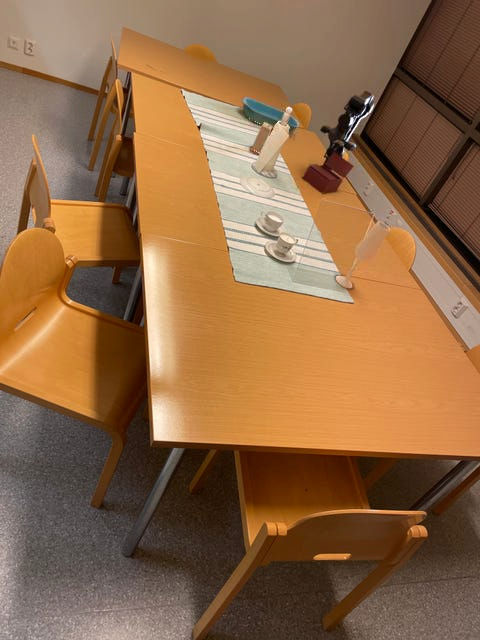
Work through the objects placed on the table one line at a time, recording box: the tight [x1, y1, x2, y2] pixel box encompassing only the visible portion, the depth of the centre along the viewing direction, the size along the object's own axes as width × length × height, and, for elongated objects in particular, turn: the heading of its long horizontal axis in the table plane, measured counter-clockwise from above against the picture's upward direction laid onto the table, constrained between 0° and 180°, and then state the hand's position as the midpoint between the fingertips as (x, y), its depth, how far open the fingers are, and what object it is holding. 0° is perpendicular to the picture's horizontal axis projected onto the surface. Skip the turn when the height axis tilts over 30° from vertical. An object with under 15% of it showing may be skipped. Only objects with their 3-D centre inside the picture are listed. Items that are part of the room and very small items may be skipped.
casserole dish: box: [241, 97, 300, 135], centre depth 273 cm, size 37×22×7 cm, turn 103°
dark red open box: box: [302, 163, 344, 194], centre depth 232 cm, size 15×13×7 cm
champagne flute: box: [335, 221, 391, 289], centre depth 160 cm, size 7×7×24 cm
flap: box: [325, 152, 355, 179], centre depth 234 cm, size 7×13×1 cm
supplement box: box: [250, 122, 273, 155], centre depth 227 cm, size 8×5×13 cm, turn 168°
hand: (329, 154), depth 233 cm, fingers closed
